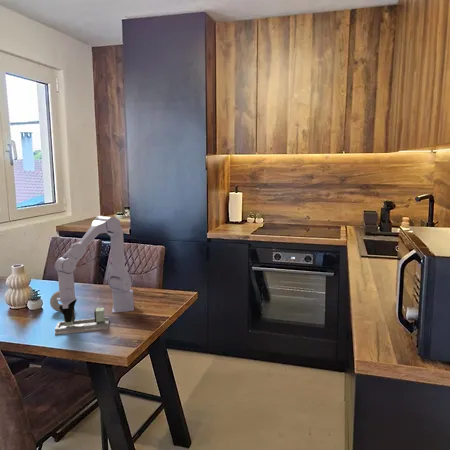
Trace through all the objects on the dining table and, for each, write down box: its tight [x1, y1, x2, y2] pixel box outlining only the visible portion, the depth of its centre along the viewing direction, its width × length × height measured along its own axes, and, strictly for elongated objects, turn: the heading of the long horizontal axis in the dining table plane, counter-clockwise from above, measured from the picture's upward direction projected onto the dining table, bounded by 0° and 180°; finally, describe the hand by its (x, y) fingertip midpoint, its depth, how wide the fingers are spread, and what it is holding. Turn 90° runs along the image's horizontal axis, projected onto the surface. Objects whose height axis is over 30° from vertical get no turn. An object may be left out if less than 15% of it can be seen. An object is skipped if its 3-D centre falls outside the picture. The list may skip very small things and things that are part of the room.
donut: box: [49, 290, 62, 313], centre depth 181 cm, size 10×4×10 cm, turn 121°
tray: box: [54, 306, 110, 335], centre depth 163 cm, size 20×9×7 cm, turn 104°
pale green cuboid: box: [63, 307, 76, 326], centre depth 161 cm, size 4×4×6 cm
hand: (69, 319), depth 162 cm, fingers closed on pale green cuboid, 4 cm apart
